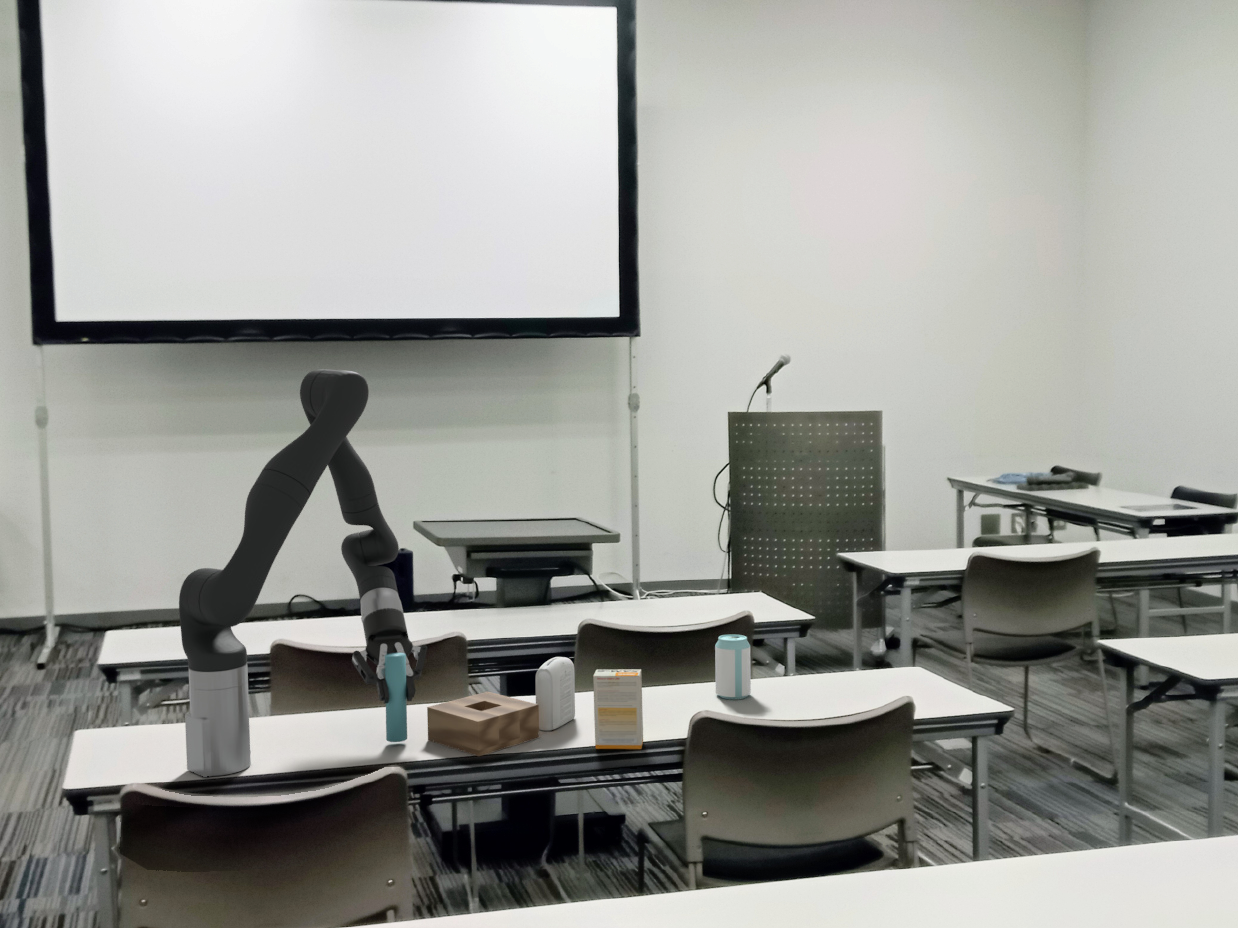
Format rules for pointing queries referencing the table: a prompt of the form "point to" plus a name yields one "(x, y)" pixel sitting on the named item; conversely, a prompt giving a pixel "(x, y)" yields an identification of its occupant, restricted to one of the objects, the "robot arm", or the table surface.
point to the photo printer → (555, 693)
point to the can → (732, 667)
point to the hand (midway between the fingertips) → (398, 699)
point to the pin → (396, 697)
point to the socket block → (483, 723)
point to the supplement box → (618, 708)
